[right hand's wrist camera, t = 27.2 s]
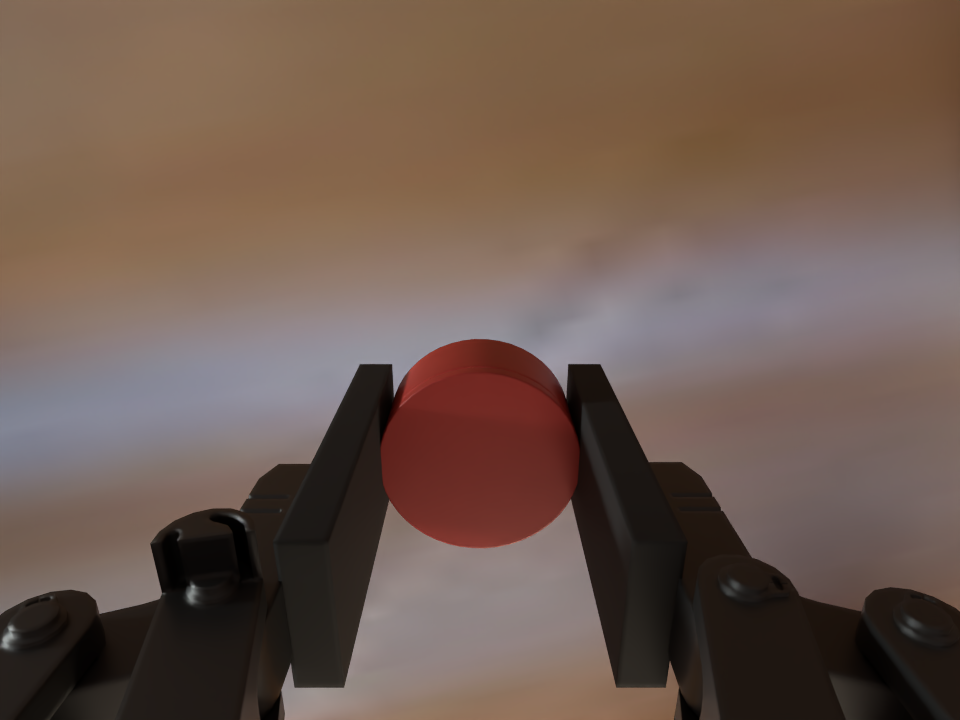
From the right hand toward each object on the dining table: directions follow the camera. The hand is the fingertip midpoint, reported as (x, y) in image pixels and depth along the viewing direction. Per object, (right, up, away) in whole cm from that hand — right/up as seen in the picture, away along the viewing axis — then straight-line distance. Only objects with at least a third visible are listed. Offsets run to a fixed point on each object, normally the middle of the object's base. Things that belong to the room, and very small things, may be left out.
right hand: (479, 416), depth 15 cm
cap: (0, -1, -2) cm, 2 cm away
